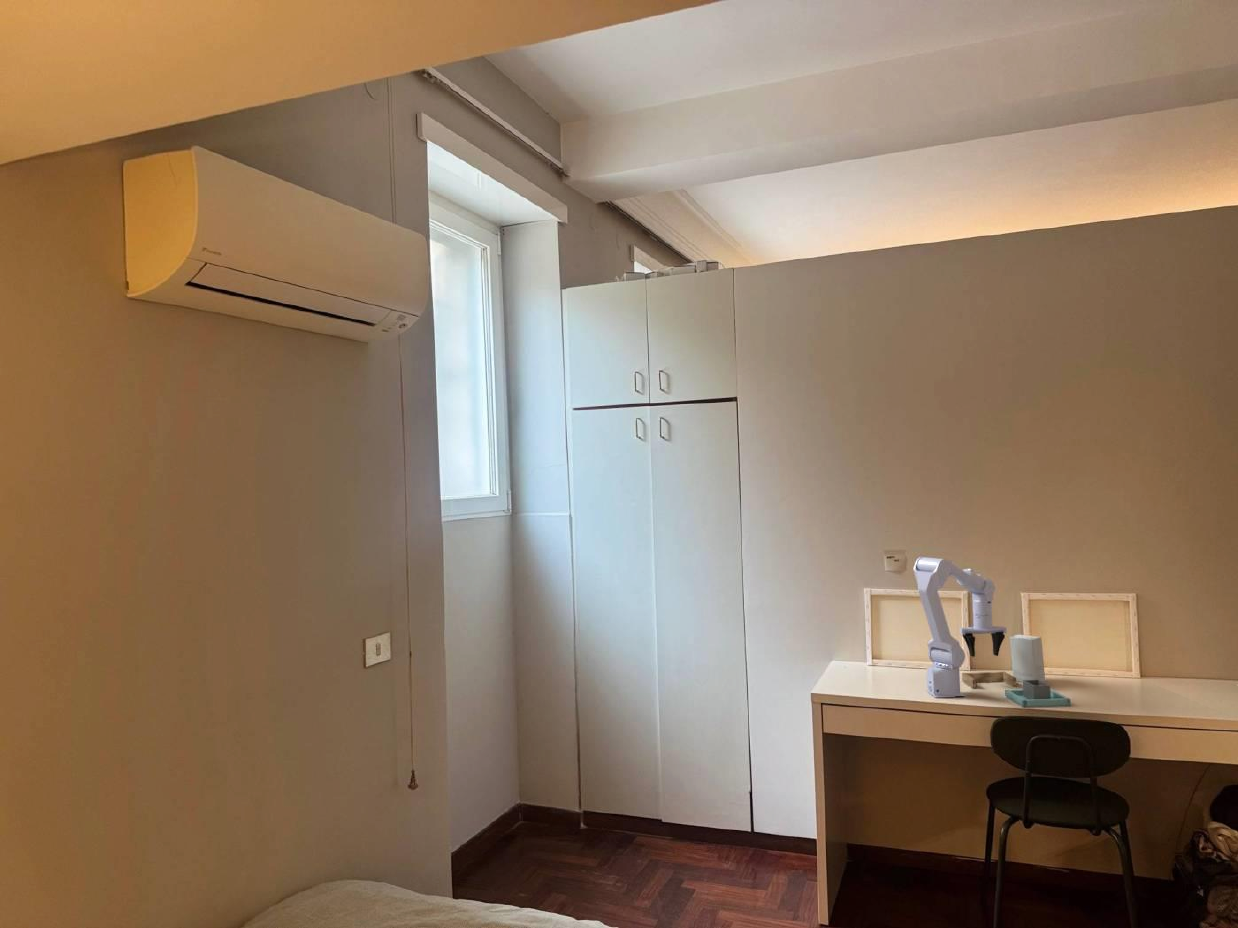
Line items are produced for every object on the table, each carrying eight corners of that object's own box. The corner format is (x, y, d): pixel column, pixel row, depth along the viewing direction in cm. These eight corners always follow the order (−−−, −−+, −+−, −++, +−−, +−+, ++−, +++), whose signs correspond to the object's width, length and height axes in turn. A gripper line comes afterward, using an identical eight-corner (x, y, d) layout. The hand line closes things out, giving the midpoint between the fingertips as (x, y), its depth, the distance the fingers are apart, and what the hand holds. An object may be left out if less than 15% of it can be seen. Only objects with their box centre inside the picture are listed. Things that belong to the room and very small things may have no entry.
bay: (972, 688, 269) (972, 679, 269) (962, 681, 277) (962, 672, 277) (1016, 687, 268) (1016, 677, 268) (1004, 680, 277) (1004, 671, 277)
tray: (1023, 707, 247) (1023, 700, 247) (1005, 696, 259) (1004, 689, 259) (1070, 705, 247) (1070, 699, 247) (1050, 694, 259) (1050, 688, 259)
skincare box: (1045, 681, 273) (1043, 636, 273) (1035, 685, 270) (1033, 639, 270) (1021, 677, 280) (1019, 633, 280) (1011, 680, 277) (1009, 635, 277)
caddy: (1034, 702, 249) (1033, 685, 249) (1023, 696, 256) (1022, 680, 256) (1050, 702, 249) (1050, 685, 249) (1039, 695, 256) (1038, 679, 256)
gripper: (999, 611, 277) (1000, 652, 277) (955, 612, 277) (957, 653, 277) (1008, 615, 270) (1010, 656, 270) (964, 616, 270) (965, 658, 270)
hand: (984, 655), depth 273 cm, fingers open, 7 cm apart
